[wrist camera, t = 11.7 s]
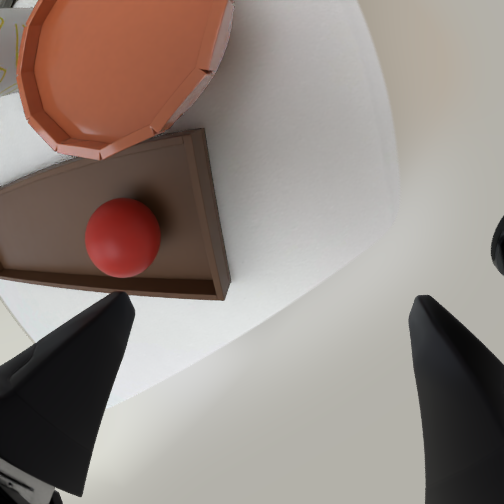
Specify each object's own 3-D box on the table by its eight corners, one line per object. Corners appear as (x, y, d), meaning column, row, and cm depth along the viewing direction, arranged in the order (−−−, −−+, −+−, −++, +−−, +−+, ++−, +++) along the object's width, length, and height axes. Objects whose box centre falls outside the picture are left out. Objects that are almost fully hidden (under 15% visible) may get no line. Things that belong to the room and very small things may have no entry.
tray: (204, 127, 18) (191, 133, 15) (231, 281, 25) (224, 300, 22) (-23, 199, 25) (-34, 207, 23) (6, 269, 32) (-3, 278, 30)
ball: (189, 228, 20) (134, 272, 15) (157, 263, 24) (111, 304, 19) (138, 171, 19) (77, 201, 15) (115, 215, 23) (65, 246, 18)
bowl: (296, 32, 13) (295, -6, 7) (169, 163, 19) (110, 206, 13) (162, -49, 9) (106, -84, 3) (69, 75, 16) (-2, 89, 9)
